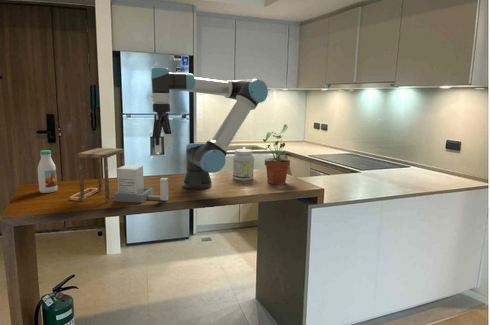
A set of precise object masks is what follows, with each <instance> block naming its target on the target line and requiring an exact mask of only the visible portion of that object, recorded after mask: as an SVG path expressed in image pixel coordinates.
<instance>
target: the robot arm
mask: <svg viewBox="0 0 490 325" xmlns="http://www.w3.org/2000/svg"><path fill="white" fill-rule="evenodd" d="M150 75H151V77H150V78H151V93H152V94H151V96H150V97H151V99H152V103H153V104H152V112H153V113H156V114H154V118H153V120H154V121H153V128H152V136H151V137H152V138H153V139H154V153H159V154H160V153H162V152H163V151H162V137H161V136H162V130H163V148H164V149H171V135H172V133H173V132H172V128H171V123H170V115H169V113H170V112H171V103H170V102H171V100H170V99H171V98H170V97H171V96H170V95H171V94H170V91H181V92H189V93H196V94H197V93H198V94H205V95H206V94H207V95H215V96H223V97H224V98H226V99H231V100H236V102H235V103H234V105H233V106H232V108H231V109H230V111H229V112H228V114H227V115H226V117H225V119H224V120H223V121H222V123H221V125H220V126H219V128H218V130H217V131H216V133H215V134H214V136H213V137H212V138H211V139H208V140H207V141H206V142H198V143H197V142H196V143H188V144H186V150H185V155H186V156H185V157H186V158H185V160H186V162H185V164H186V169H185V170H186V172H185V176H184V178H183V181H182V182H183V183H182V186H183V188H186V189H189V190H204V189H208V188H211V187H212V186H213V185H212V184H213V182H212V178H211V176H210V174H215V173H219V172H220V171H222V170H223V168H224V167H225V165H226V161H227V160H226V156H227V154H228V147H229V145H230V144H231V142H232V141H233V139H234V137H235V136H236V135H237V133H238V131H239V129H240V128H241V126H242V125H243V123H244V122H245V121H246V119H247V117H248V115H249V114H250V112H251V111H253V110H256V108H257V107H258V106H259V104H261V103H263V102H265V101H266V100H267V98H268V96H269V95H268V94H269V90H268V86H267V84H266V82H265V81H264V80H262V79H259V78H252V79H250V78H247V79H244V78H243V79H236V80H232V79H227V80H219V79H211V78H205V77H204V78H203V77H197V76H194V74H193V73H189V72H170V70H169V68H168V67H164V66H163V67H162V66H155V67H152V68H151V74H150Z"/></svg>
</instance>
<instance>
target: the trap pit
mask: <svg viewBox="0 0 490 325" xmlns="http://www.w3.org/2000/svg"><path fill="white" fill-rule="evenodd" d="M98 192H100V191H99V187H98V188H97V187H88V188H86V189H84V197H85V199H86V198H87V197H90V196H91V195H93V194H94V195H95V193H98ZM68 200H69V201H79V202H80V201H81V198H80V191H79V192H77V193H75V194H73V195H71V196H68Z"/></svg>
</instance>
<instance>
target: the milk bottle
mask: <svg viewBox="0 0 490 325" xmlns="http://www.w3.org/2000/svg"><path fill="white" fill-rule="evenodd" d="M39 154H40V159H39V162H38V164H37V165H38V166H37V177H38V178H37V179H38V189H39V190H38V191H39V193H40V194H42V193H43V194H45V193H46V194H48V193H55V192H57V191H58V180H57V179H58V178H57V177H58V176H57V167H56V164H55V163H54V161H53V159H52V151H51V150H49V149H45V150H44V149H43V150H40V151H39Z"/></svg>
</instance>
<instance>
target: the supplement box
mask: <svg viewBox="0 0 490 325" xmlns="http://www.w3.org/2000/svg"><path fill="white" fill-rule="evenodd" d="M116 174H117V192H118V193H122V194H139V195H141V194H142V193H144V187H145V185H144V184H145V182H144V166H143V165H135V164H124V166H122V167H121V166H119V167H117V168H116Z"/></svg>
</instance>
